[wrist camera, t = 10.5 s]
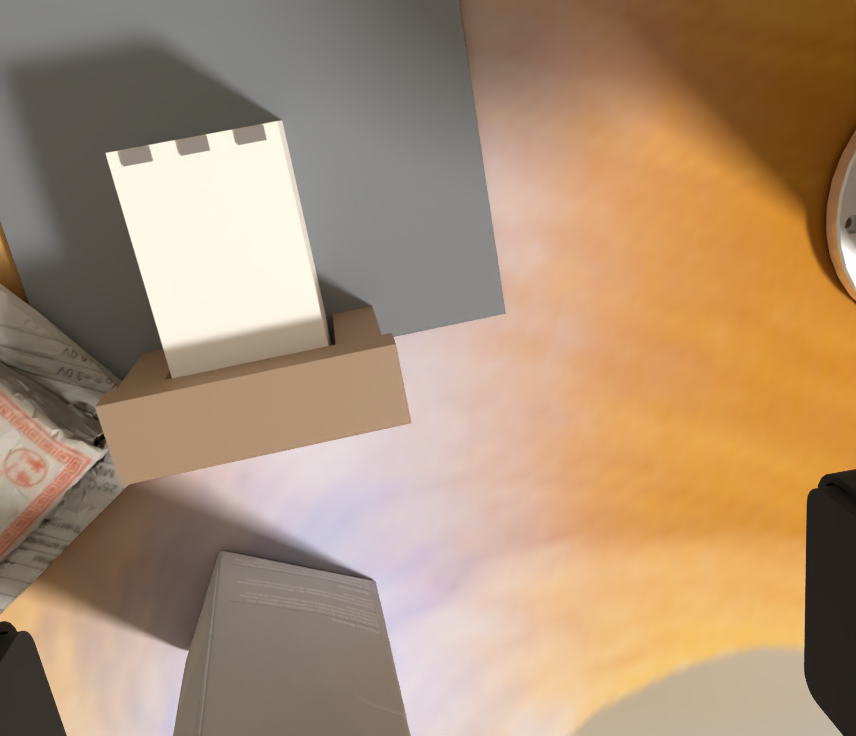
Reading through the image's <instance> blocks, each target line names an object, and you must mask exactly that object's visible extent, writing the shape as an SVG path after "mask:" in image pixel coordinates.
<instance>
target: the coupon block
mask: <svg viewBox="0 0 856 736" xmlns="http://www.w3.org/2000/svg"><path fill="white" fill-rule="evenodd" d="M106 157H107V160H108V164H109V167H110V170H111V174H112V177H113V181H114V184H115V187H116V191H117V194H118V197H119V201H120V204H121V208H122V211H123V214H124V218H125V221H126V224H127V228H128V231H129V235H130V238H131V241H132V245H133V248H134V252H135V255H136V258H137V262H138V265H139V268H140V272H141V275H142V279H143V282H144V285H145V289H146V292H147V296H148V299H149V302H150V306H151V309H152V312H153V316H154V319H155V323H156V326H157V329H158V333H159V336H160V340H161V343H162V346H163V349H160V350H155V351H150V352H145V353H142V355H141V356H140V358H139V359H138V360H137V362H136V363H135V365H134V366H133V367H132V369H131V370H130V372H129V373H128V374H127V376H126V377H125V379H124V380H123V381H122V383H121V384H120V386H119V387H118V389H117V390H115V391H110V392H106V393H105V394H104V395H103V397H102V398H101V399H100V401H99V402H98V403H97V405H96V406H95V409H96V412H97V415H98V418H99V421H100V424H101V427H102V430H103V433H104V436H105V439H106V442H107V445H108V448H109V451H110V454H111V457H112V460H113V463H114V466H115V469H116V472H117V475H118V478H119V481H120V484H121V486H124V485H129V484H133V483H138V482H143V481H147V480H152V479H156V478H161V477H166V476H170V475H175V474H179V473H184V472H189V471H193V470H198V469H202V468H207V467H212V466H216V465H221V464H225V463H230V462H235V461H239V460H244V459H248V458H253V457H258V456H262V455H267V454H271V453H276V452H281V451H285V450H290V449H295V448H299V447H304V446H308V445H313V444H318V443H322V442H327V441H331V440H336V439H341V438H345V437H350V436H354V435H359V434H364V433H368V432H373V431H377V430H382V429H387V428H391V427H396V426H400V425H405V424H410V423H411V419H410V414H409V409H408V404H407V399H406V394H405V389H404V383H403V378H402V373H401V368H400V363H399V358H398V353H397V348H396V343H395V341H394V338H393V335H392V333H389V334H384V335H381V332H380V329H379V326H378V322H377V319H376V316H375V313H374V310H373V307H372V306H370V307H365V308H360V309H355V310H350V311H345V312H340V313H335V314H333V324H334V333H335V343H336V345H332V341H331V336H330V332H329V327H328V323H327V319H326V314H325V310H324V305H323V301H322V296H321V292H320V287H319V283H318V278H317V274H316V269H315V265H314V260H313V256H312V252H311V247H310V243H309V238H308V234H307V229H306V225H305V220H304V216H303V211H302V207H301V202H300V198H299V193H298V189H297V185H296V180H295V176H294V171H293V167H292V162H291V158H290V153H289V149H288V144H287V140H286V135H285V131H284V127H283V122H282V120H281V121H275V122H270V123H265V124H259V125H254V126H249V127H243V128H238V129H232V130H227V131H222V132H216V133H211V134H205V135H200V136H195V137H189V138H184V139H178V140H173V141H168V142H162V143H157V144H151V145H146V146H141V147H135V148H130V149H124V150H119V151H114V152H108V153H106Z"/></svg>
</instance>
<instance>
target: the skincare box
mask: <svg viewBox="0 0 856 736" xmlns="http://www.w3.org/2000/svg"><path fill="white" fill-rule="evenodd" d="M173 736H411V735H410V731H409V727H408V723H407V718H406V713H405V709H404V704H403V700H402V696H401V691H400V686H399V682H398V678H397V674H396V669H395V665H394V660H393V656H392V651H391V647H390V642H389V638H388V634H387V629H386V625H385V620H384V616H383V612H382V607H381V603H380V599H379V594H378V590H377V586H376V582H375V581H372V580H368V579H363V578H357V577H352V576H347V575H342V574H336V573H331V572H326V571H321V570H316V569H311V568H306V567H301V566H296V565H291V564H287V563H282V562H277V561H272V560H267V559H262V558H257V557H252V556H247V555H242V554H236V553H231V552H226V551H220V553H219V554H218V556H217V559H216V563H215V566H214V569H213V573H212V576H211V579H210V583H209V586H208V589H207V593H206V596H205V600H204V603H203V606H202V610H201V613H200V616H199V620H198V623H197V626H196V629H195V633H194V636H193V639H192V642H191V646H190V649H189V653H188V656H187V660H186V664H185V669H184V674H183V680H182V686H181V692H180V698H179V704H178V710H177V716H176V722H175V728H174V734H173Z"/></svg>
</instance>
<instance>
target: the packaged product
mask: <svg viewBox="0 0 856 736" xmlns="http://www.w3.org/2000/svg"><path fill="white" fill-rule="evenodd" d="M121 383H122V381H121V380H120V379H119V378H118V377H116V376H115V375H114V374H113V373H111V372H110V371H109V370H108V369H107V368H105V367H104V366H103V365H102V364H101V363H99V362H98V361H97V360H96V359H95V358H93V357H92V356H91V355H90V354H89V353H87V352H86V351H85V350H84V349H82V348H81V347H80V346H79V345H78V344H76V343H75V342H74V341H73V340H72V339H70V338H69V337H68V336H67V335H66V334H64V333H63V332H62V331H61V330H60V329H58V328H57V327H56V326H55V325H54V324H52V323H51V322H50V321H49V320H47V319H46V318H45V317H44V316H43V315H41V314H40V313H39V312H38V311H36V310H35V309H34V308H32V307H31V306H30V305H28V304H27V303H26V302H24V301H23V300H22V299H20V298H19V297H17V296H16V295H15V294H13V293H12V292H11V291H9V290H8V289H7V288H5V287H4V286H3V285H1V284H0V614H1V613H2V612H3V611H4V610H5V609H6V608H7V607H8V606H9V605H10V604H11V603H12V602H13V601H14V600H15V599H16V598H17V597H18V596H19V595H20V594H21V593H22V592H23V591H25V590H26V589H27V588H28V587H29V586H30V585H31V584H32V583H33V582H34V581H35V580H36V579H37V578H38V577H39V575H40V574H41V573H42V572H43V571H44V570H45V569H46V568H47V567H48V566H49V565H50V564H51V563H52V562H53V561H54V560H55V559H56V558H57V557H58V556H59V555H60V554H61V553H62V552H63V551H64V550H65V549H66V547H67V546H68V545H69V544H70V543H71V542H72V541H73V540H74V539H75V538H76V537H77V536H78V535H79V534H80V533H81V532H82V531H83V530H84V529H85V528H86V527H87V526H88V525H89V524H90V523H91V522H92V521H93V520H94V519H95V518H96V517H97V516H98V515H99V514H100V513H101V512H102V511H103V510H104V509H105V508H106V507H107V506H108V505H109V504H110V503H111V502H112V501H113V500H114V499H115V498H116V497H117V496H118V495H119V494H120V493H121V492H122V491H123V490H124V489H125V488H126V487H127V486H128V485H124V486H121V484H120V481H119V478H118V475H117V472H116V469H115V466H114V463H113V460H112V457H111V454H110V451H109V448H108V445H107V442H106V439H105V436H104V433H103V430H102V427H101V424H100V421H99V418H98V415H97V412H96V409H95V406H96V405H97V403H98V402H99V401H100V399H101V398H102V397H103V395H104V394H105V393H106V392H110V391H115V390H117V389H118V387H119V386H120V384H121Z"/></svg>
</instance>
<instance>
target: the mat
mask: <svg viewBox="0 0 856 736" xmlns="http://www.w3.org/2000/svg"><path fill="white" fill-rule="evenodd" d="M281 120H282V122H283V127H284V131H285V135H286V140H287V144H288V149H289V153H290V158H291V162H292V167H293V171H294V176H295V180H296V185H297V189H298V193H299V198H300V202H301V207H302V211H303V216H304V220H305V225H306V229H307V234H308V238H309V243H310V247H311V252H312V256H313V260H314V265H315V269H316V274H317V278H318V283H319V287H320V292H321V296H322V301H323V305H324V310H325V314H326V319H327V323H328V327H329V332H330V336H331V341H332V345H336V343H335V333H334V324H333V314H335V313H340V312H345V311H350V310H355V309H360V308H365V307H370V306H372V307H373V310H374V313H375V316H376V319H377V322H378V326H379V329H380V332H381V335H384V334H389V333H392V335H393V337H395V336H400V335H405V334H410V333H414V332H419V331H424V330H429V329H434V328H438V327H443V326H448V325H453V324H458V323H462V322H467V321H472V320H477V319H482V318H486V317H491V316H496V315H501V314H506V313H505V306H504V299H503V293H502V286H501V279H500V273H499V266H498V259H497V252H496V246H495V239H494V232H493V226H492V219H491V212H490V205H489V199H488V192H487V185H486V179H485V172H484V165H483V158H482V152H481V145H480V138H479V132H478V125H477V118H476V111H475V105H474V98H473V91H472V85H471V78H470V71H469V65H468V58H467V51H466V44H465V38H464V31H463V24H462V18H461V11H460V4H459V0H0V222H1V225H2V228H3V231H4V234H5V237H6V239H7V242H8V245H9V248H10V251H11V254H12V257H13V260H14V263H15V266H16V268H17V271H18V274H19V277H20V280H21V283H22V286H23V289H24V292H25V294H26V297H27V300H28V303H29V305H30V306H31V307H32V308H34V309H35V310H36V311H38V312H39V313H40V314H41V315H43V316H44V317H45V318H46V319H47V320H49V321H50V322H51V323H52V324H54V325H55V326H56V327H57V328H58V329H60V330H61V331H62V332H63V333H64V334H66V335H67V336H68V337H69V338H70V339H72V340H73V341H74V342H75V343H76V344H78V345H79V346H80V347H81V348H82V349H84V350H85V351H86V352H87V353H89V354H90V355H91V356H92V357H93V358H95V359H96V360H97V361H98V362H99V363H101V364H102V365H103V366H104V367H105V368H107V369H108V370H109V371H110V372H111V373H113V374H114V375H115V376H116V377H118V378H119V379H120V380H121V381H123V380H124V379H125V377H126V376H127V374H128V373H129V372H130V370H131V369H132V367H133V366H134V365H135V363H136V362H137V360H138V359H139V358H140V356H141V355H142V353H145V352H150V351H155V350H160V349H163V346H162V343H161V340H160V336H159V333H158V329H157V326H156V323H155V319H154V316H153V312H152V309H151V306H150V302H149V299H148V296H147V292H146V289H145V285H144V282H143V279H142V275H141V272H140V268H139V265H138V262H137V258H136V255H135V252H134V248H133V245H132V241H131V238H130V235H129V231H128V228H127V224H126V221H125V218H124V214H123V211H122V208H121V204H120V201H119V197H118V194H117V191H116V187H115V184H114V181H113V177H112V174H111V170H110V167H109V164H108V160H107V157H106V153H108V152H114V151H119V150H124V149H130V148H135V147H141V146H146V145H151V144H157V143H162V142H168V141H173V140H178V139H184V138H189V137H195V136H200V135H205V134H211V133H216V132H222V131H227V130H232V129H238V128H243V127H249V126H254V125H259V124H265V123H270V122H275V121H281Z"/></svg>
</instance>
